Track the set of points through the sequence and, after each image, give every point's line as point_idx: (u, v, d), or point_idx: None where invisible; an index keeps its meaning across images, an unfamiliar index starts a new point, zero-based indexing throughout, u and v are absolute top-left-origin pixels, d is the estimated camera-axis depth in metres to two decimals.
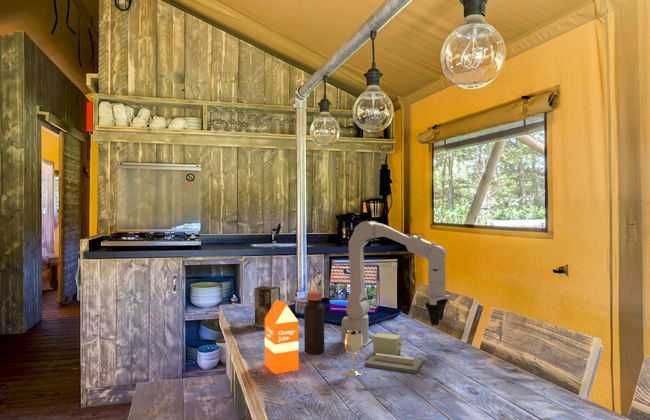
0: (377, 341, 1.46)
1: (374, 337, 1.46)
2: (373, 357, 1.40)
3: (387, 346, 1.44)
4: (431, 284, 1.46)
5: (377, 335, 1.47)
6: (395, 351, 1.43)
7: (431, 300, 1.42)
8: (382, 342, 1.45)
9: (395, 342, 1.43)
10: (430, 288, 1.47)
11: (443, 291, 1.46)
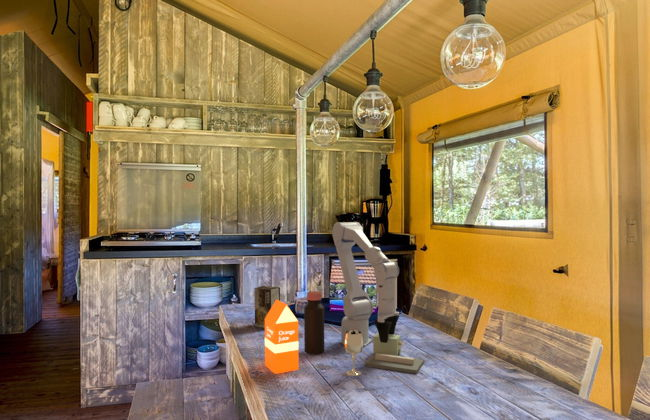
0: (377, 341, 1.46)
1: (374, 337, 1.46)
2: (373, 357, 1.40)
3: (387, 346, 1.44)
4: (380, 301, 1.45)
5: (377, 335, 1.47)
6: (395, 351, 1.43)
7: (379, 317, 1.40)
8: (382, 342, 1.45)
9: (395, 342, 1.43)
10: (380, 305, 1.45)
11: (392, 308, 1.44)
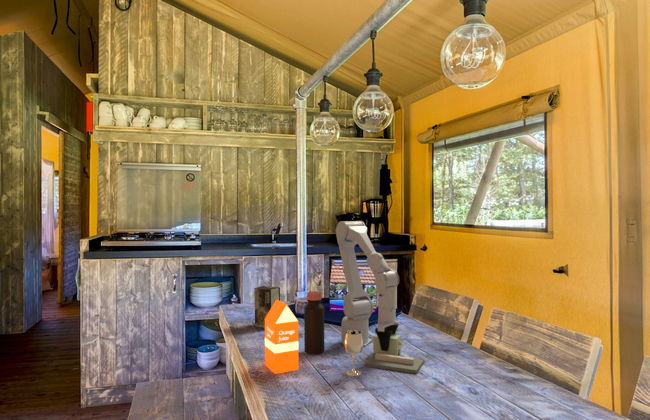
0: (377, 341, 1.46)
1: (374, 337, 1.46)
2: (373, 357, 1.40)
3: None
4: (380, 310, 1.45)
5: None
6: (395, 351, 1.43)
7: (379, 327, 1.40)
8: None
9: (395, 342, 1.43)
10: (380, 314, 1.45)
11: (392, 317, 1.44)
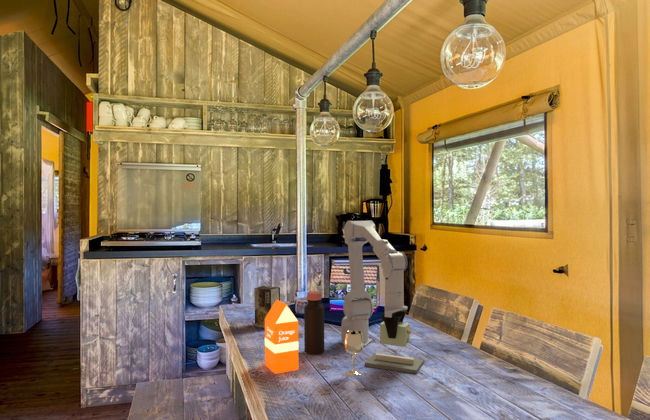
0: (384, 329, 1.35)
1: (381, 325, 1.36)
2: (373, 357, 1.40)
3: None
4: (387, 294, 1.35)
5: (384, 323, 1.37)
6: (404, 340, 1.33)
7: (386, 312, 1.30)
8: None
9: (404, 330, 1.33)
10: (387, 299, 1.35)
11: (400, 302, 1.34)
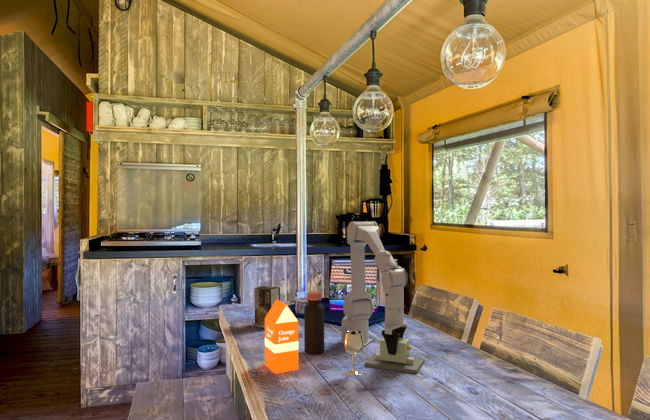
0: (384, 345, 1.35)
1: (381, 341, 1.36)
2: (373, 357, 1.40)
3: None
4: (388, 311, 1.35)
5: (384, 339, 1.37)
6: (404, 356, 1.33)
7: (386, 329, 1.30)
8: None
9: (404, 346, 1.33)
10: (387, 315, 1.35)
11: (400, 318, 1.34)
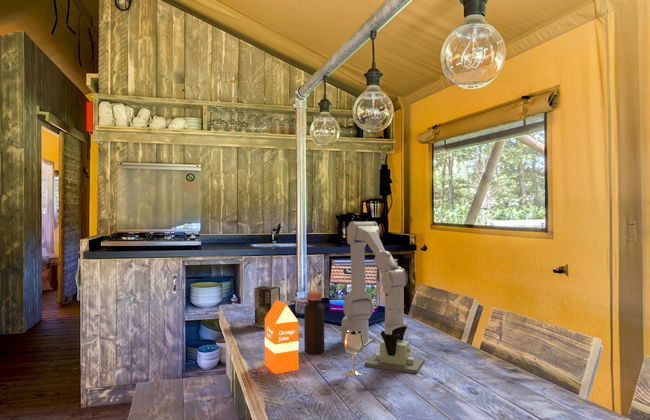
0: (384, 347, 1.35)
1: (381, 343, 1.36)
2: (373, 357, 1.40)
3: (395, 353, 1.34)
4: (388, 311, 1.35)
5: None
6: (404, 358, 1.33)
7: (386, 329, 1.30)
8: None
9: (404, 349, 1.33)
10: (387, 315, 1.35)
11: (400, 318, 1.34)
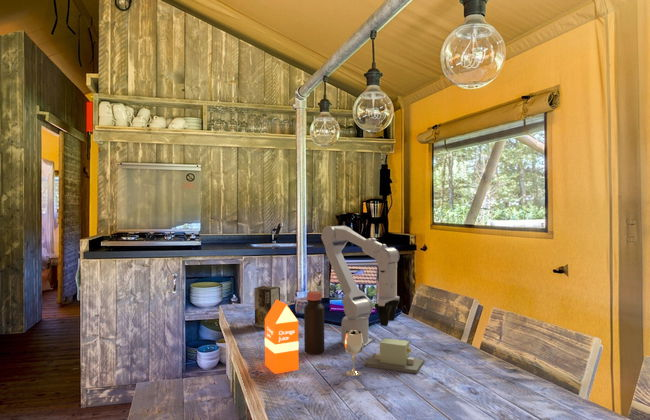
0: (384, 347, 1.35)
1: (381, 343, 1.36)
2: (373, 357, 1.40)
3: (395, 353, 1.34)
4: (381, 285, 1.48)
5: (384, 341, 1.37)
6: (404, 358, 1.33)
7: (379, 301, 1.44)
8: (390, 349, 1.35)
9: (404, 349, 1.33)
10: (380, 289, 1.49)
11: (393, 292, 1.48)
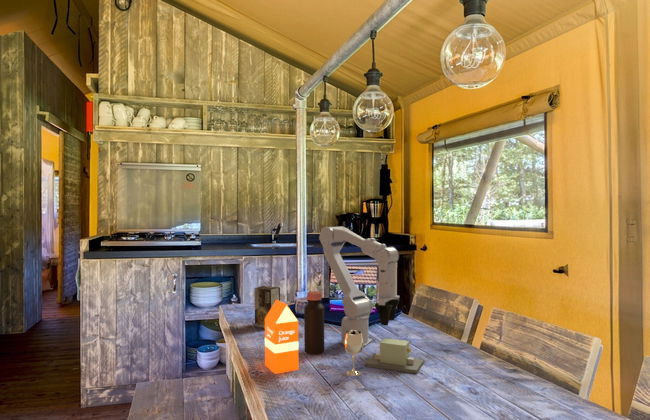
0: (384, 347, 1.35)
1: (381, 343, 1.36)
2: (373, 357, 1.40)
3: (395, 353, 1.34)
4: (381, 285, 1.49)
5: (384, 341, 1.37)
6: (404, 358, 1.33)
7: (380, 300, 1.44)
8: (390, 349, 1.35)
9: (404, 349, 1.33)
10: (380, 289, 1.49)
11: (393, 292, 1.48)
